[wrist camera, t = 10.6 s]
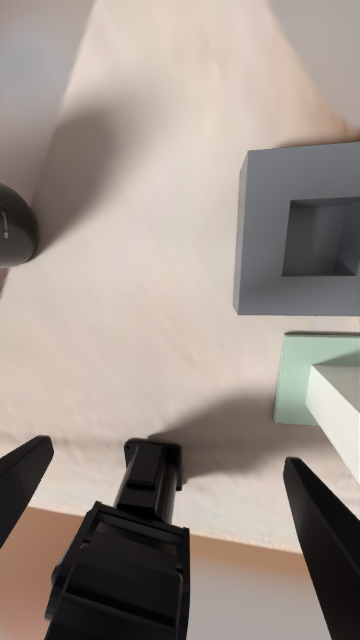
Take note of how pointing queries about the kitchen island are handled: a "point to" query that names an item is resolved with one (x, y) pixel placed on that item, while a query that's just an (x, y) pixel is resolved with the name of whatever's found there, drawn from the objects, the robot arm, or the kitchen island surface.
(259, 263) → the grey square socket block
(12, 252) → the supplement bottle
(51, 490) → the kitchen island surface
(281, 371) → the mat
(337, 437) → the plug
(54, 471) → the kitchen island surface
